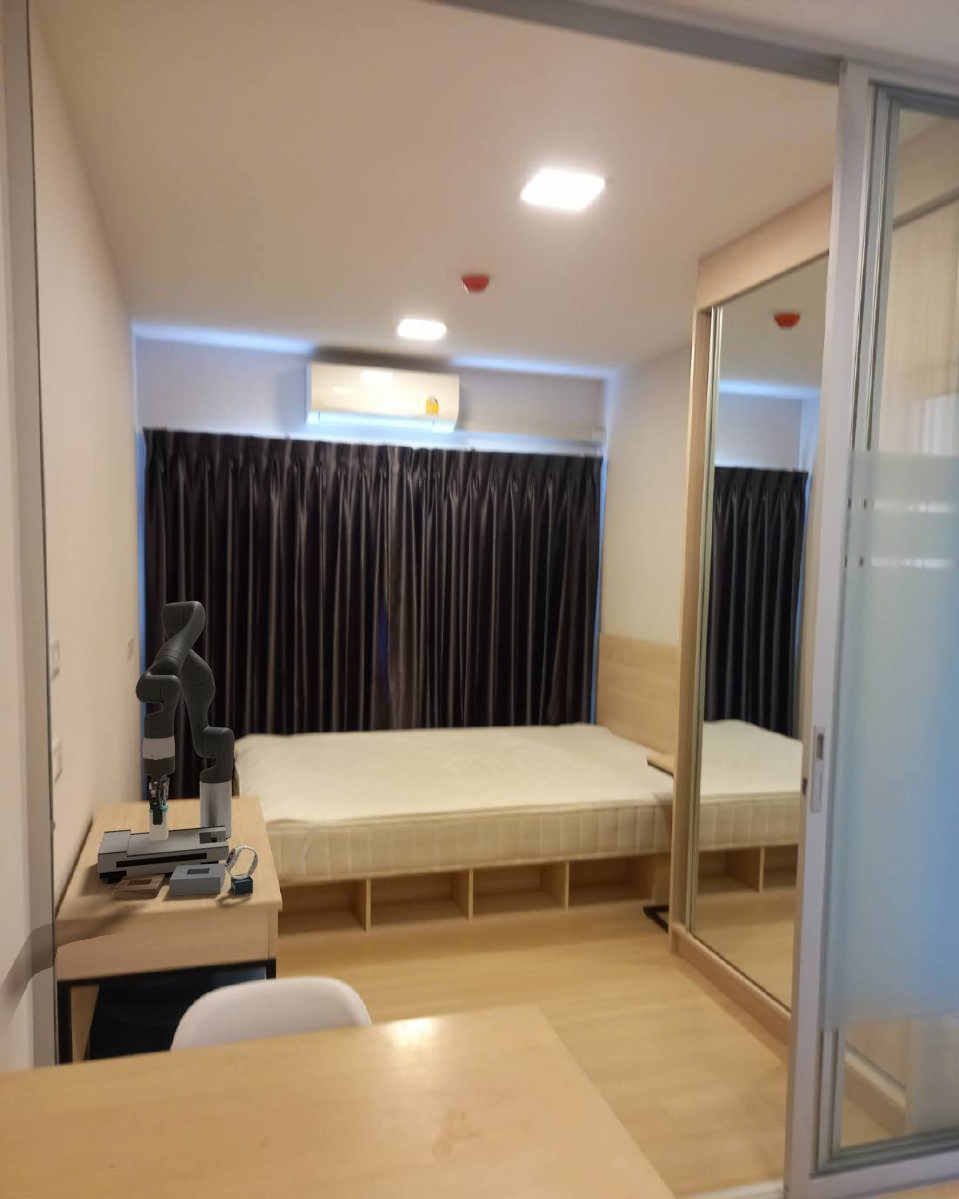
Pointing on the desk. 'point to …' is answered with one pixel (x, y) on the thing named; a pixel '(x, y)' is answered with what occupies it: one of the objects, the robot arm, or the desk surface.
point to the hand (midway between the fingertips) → (159, 822)
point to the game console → (159, 852)
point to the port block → (197, 879)
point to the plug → (159, 826)
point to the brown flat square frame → (139, 886)
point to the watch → (241, 881)
